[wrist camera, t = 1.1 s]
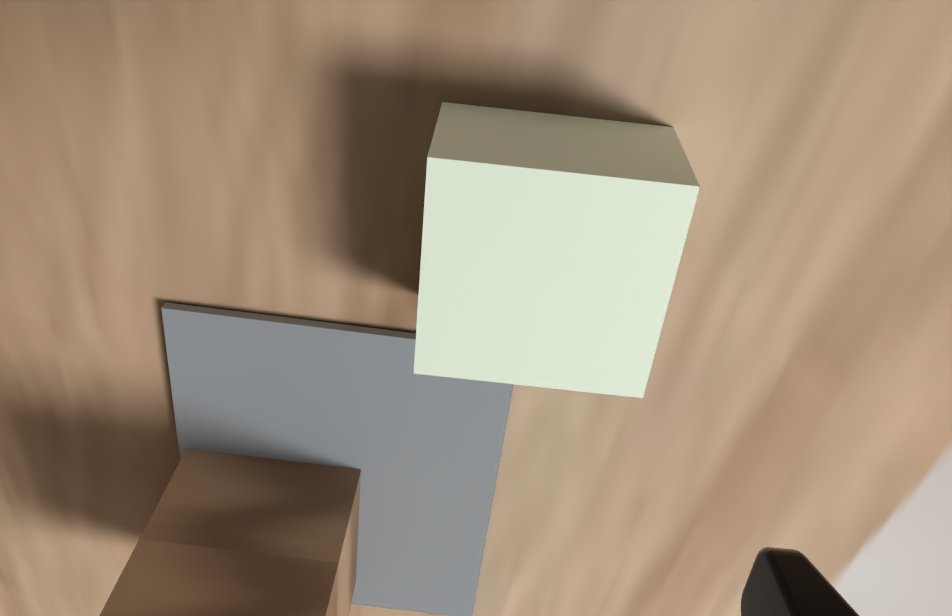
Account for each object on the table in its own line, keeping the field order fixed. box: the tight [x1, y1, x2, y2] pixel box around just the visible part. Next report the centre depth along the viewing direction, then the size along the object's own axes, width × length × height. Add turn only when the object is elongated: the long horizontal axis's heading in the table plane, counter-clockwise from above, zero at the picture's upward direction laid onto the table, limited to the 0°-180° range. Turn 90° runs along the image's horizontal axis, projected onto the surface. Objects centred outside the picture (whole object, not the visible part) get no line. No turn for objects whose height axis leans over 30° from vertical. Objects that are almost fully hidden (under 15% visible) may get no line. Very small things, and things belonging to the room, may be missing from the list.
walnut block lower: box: [140, 448, 361, 616], centre depth 25 cm, size 6×6×4 cm
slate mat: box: [161, 302, 513, 616], centre depth 25 cm, size 10×12×1 cm
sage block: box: [414, 102, 700, 398], centre depth 19 cm, size 6×6×4 cm
